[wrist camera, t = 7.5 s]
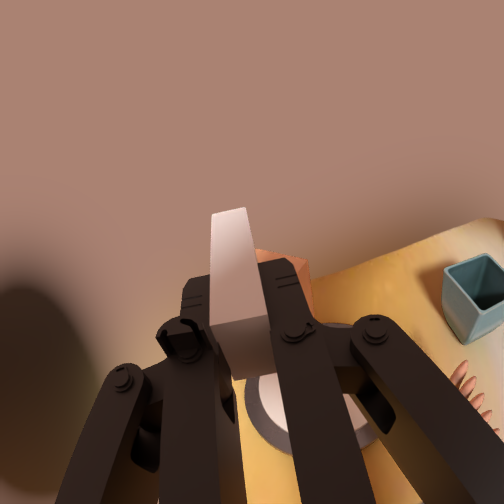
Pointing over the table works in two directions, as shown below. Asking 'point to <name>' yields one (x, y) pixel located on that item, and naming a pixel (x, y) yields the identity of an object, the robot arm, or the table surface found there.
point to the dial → (270, 382)
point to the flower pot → (473, 297)
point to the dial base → (275, 433)
